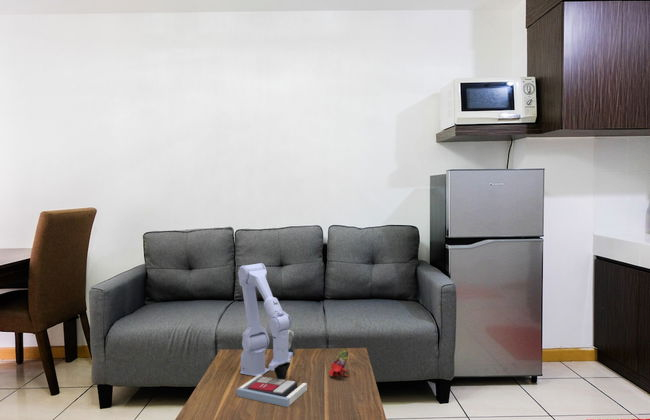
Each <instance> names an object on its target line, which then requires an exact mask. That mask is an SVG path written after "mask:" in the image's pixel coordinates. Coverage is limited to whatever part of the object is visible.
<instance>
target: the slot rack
mask: <svg viewBox="0 0 650 420" xmlns="http://www.w3.org/2000/svg"><path fill="white" fill-rule="evenodd" d="M262 377H263V375H260V374H259V375H257V376H253V378H251V379H250V380H248V381H246V382H245V383H244V384H242V385H240V386H239V387H238V388H237V389H236V396H237V397H240V398H244V399H249V400H252V401H253V400H254V401H257V402H263V403H268V404H272V405H276V406H277V405H278V406H282V407H285V408H288V407H290V405H291V404H293V403H294V402H295V401H296V400H298V398H300V397H301V396H302V395H303V394H305V393H306V391H308V383H306V382H303V383H301V384H300V385H299V386H297V388H296V389H295V390H294V391H293V392H292V393H290V394H289V395H288V396H287V397H282V396H277V395H272V394H268V393H263V392H258V391H253V390H248V388H249V386H251V385H252V384H254V383H255V382H257V381H258V380H260V379H261V378H262Z"/></svg>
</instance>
